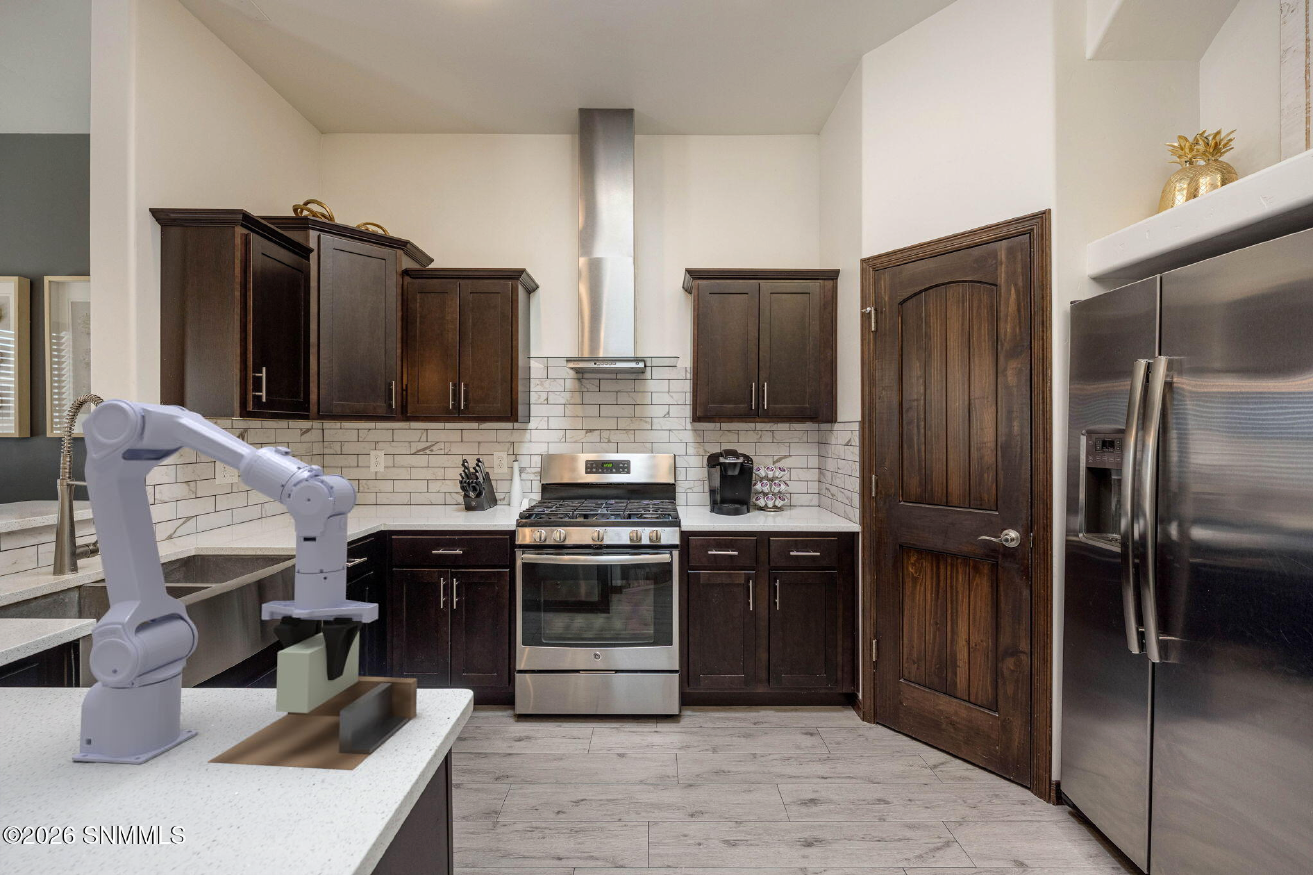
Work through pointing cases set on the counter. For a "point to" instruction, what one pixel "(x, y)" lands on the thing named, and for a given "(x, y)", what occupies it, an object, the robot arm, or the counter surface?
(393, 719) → the bookend
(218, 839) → the counter surface
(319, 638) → the pale green rectangular block
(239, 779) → the counter surface
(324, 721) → the wooden display base
